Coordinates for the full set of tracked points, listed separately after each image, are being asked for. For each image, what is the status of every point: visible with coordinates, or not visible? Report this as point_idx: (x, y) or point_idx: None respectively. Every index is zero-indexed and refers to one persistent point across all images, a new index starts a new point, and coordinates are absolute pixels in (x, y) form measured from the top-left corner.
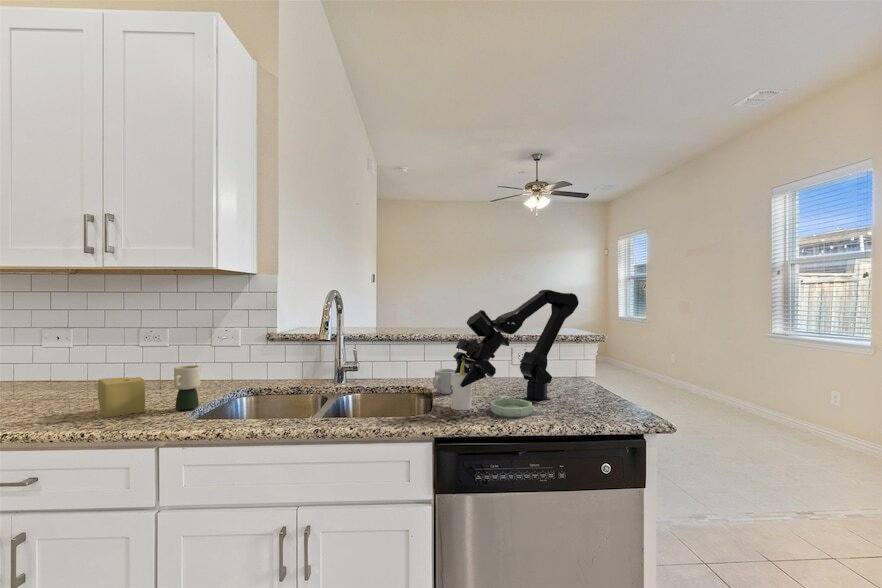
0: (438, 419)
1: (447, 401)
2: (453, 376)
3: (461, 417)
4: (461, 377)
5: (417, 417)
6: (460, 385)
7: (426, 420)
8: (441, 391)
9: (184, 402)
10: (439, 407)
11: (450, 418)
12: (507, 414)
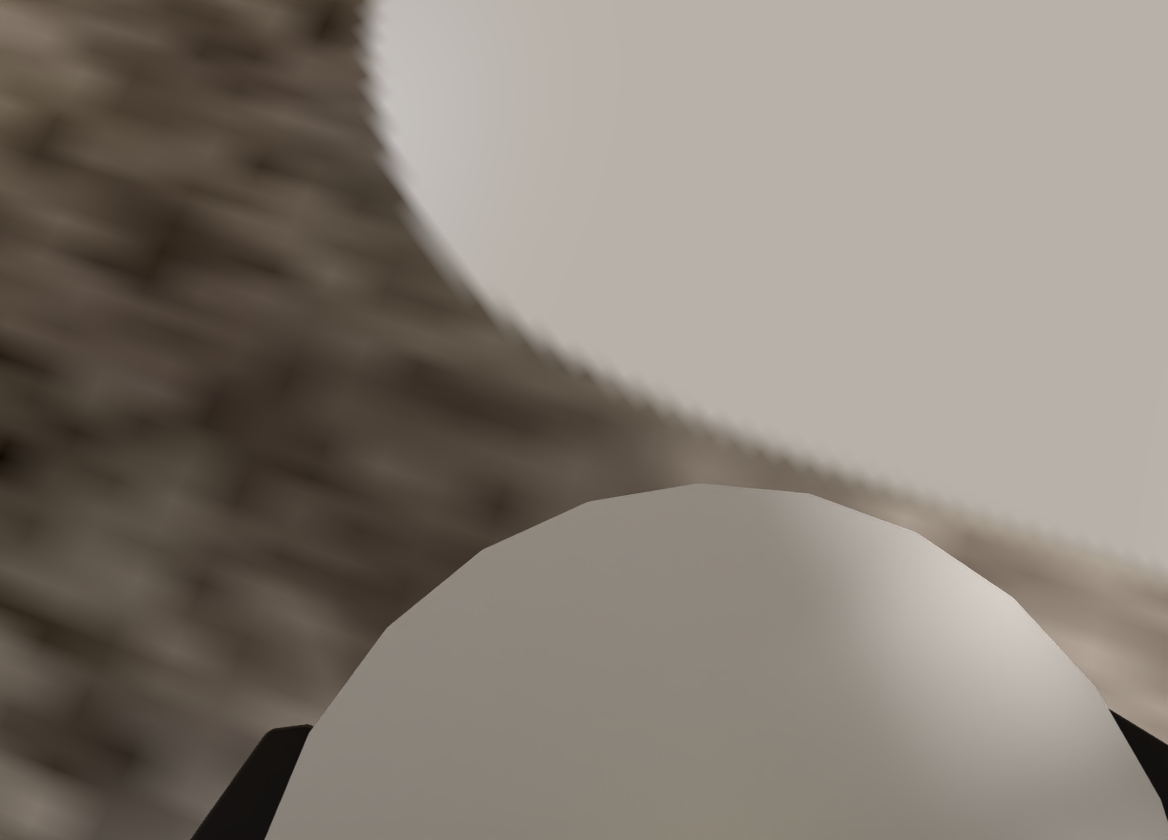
0: (100, 232)
1: (1144, 722)
2: (557, 524)
3: (46, 603)
4: (277, 810)
5: (320, 11)
6: (305, 730)
7: (125, 72)
8: None
9: None
10: (768, 457)
11: (71, 413)
12: None
